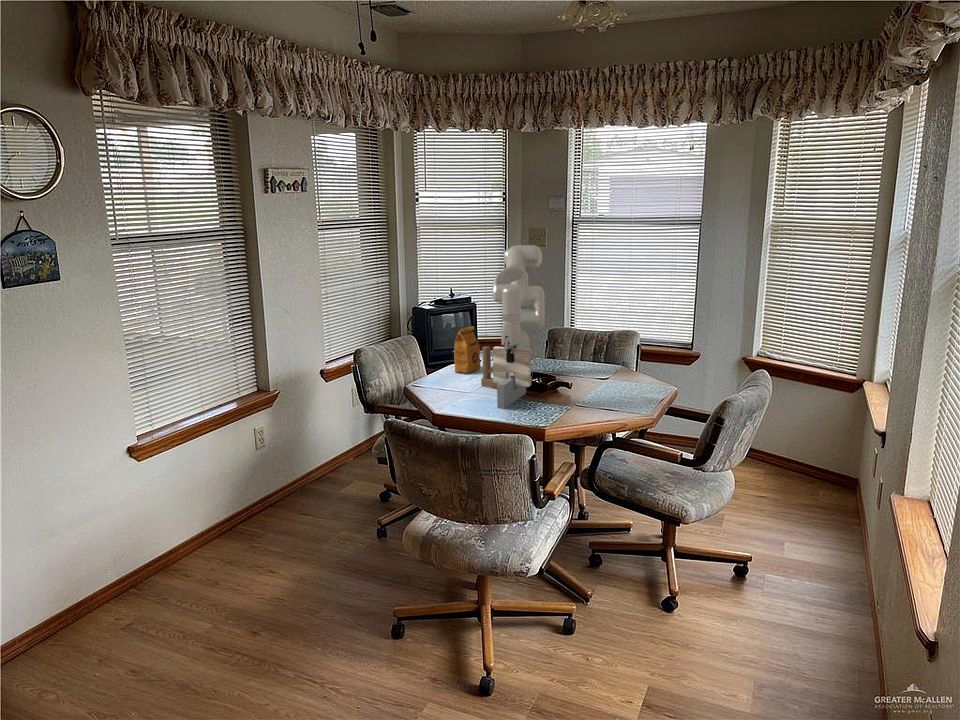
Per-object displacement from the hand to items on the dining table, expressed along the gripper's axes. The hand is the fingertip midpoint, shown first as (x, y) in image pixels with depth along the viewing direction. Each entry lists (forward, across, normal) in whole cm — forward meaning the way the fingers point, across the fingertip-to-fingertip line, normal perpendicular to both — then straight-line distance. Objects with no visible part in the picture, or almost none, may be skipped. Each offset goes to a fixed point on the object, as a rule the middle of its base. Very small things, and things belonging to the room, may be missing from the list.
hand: (511, 361), depth 278 cm
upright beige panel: (+10, 0, 0) cm, 10 cm away
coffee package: (+17, -37, -39) cm, 57 cm away
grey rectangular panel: (+17, 0, 0) cm, 17 cm away
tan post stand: (+17, -16, -16) cm, 28 cm away
